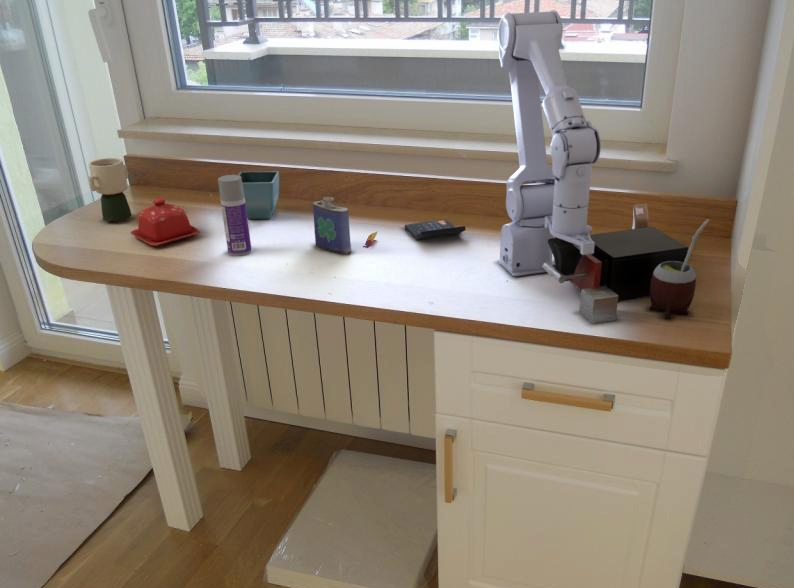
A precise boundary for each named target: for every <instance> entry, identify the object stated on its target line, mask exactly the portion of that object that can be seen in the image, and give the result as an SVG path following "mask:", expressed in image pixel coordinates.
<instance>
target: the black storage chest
mask: <svg viewBox="0 0 794 588" xmlns="http://www.w3.org/2000/svg"><path fill="white" fill-rule="evenodd" d="M589 235H590V237H591V239H592V241H593V242H595V246H594V248H596V249H597V250H599V251H600V252H601V253H603V254H604V255H606V256H607V257H608V258H610V259H611V260H612V262H611V271H610V281H609V289H611V290H612V291H613V292H615V293H616V294H617V295H618V302H622V301H623V302H624V301H629V300H636V299H641V298H642V299H643V298H647V297H649V298H650V283H651V278H652V275H653V273H654V270H655V269H656V267H657V266H658V265H659V264H661V263H663V262H667V261H678V262H683V263H684V261H685V258H686V256H687V253H688V251H689V246H687V245H685V244H684V243H683V242H680V241H679V240H677V239H676V238H674V237H672V236H670V235H668V234H667V233H665V232H663V231H662V230H660V229H658V228H657V227H655V226H649V227H646V228H638V229H632V228H631V229H624V230H623V229H622V230H616V231H609V232H602V233H593V234H589Z"/></svg>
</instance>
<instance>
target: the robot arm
mask: <svg viewBox="0 0 794 588" xmlns="http://www.w3.org/2000/svg"><path fill="white" fill-rule="evenodd" d="M497 28H498V30H497V34H496V35H497V36H496V38H497V46H498V55H499V57H498V58H499V62H500V67H501V68H502V69H503V70H505V71H506V72H508V74H509V82H510V83H509V84H510V90H511V101H512V108H513V117H514V127H515V134H516V136H515V138H516V145H517V153H518V162H519V163H518V164H519V167H518V169H517V170H516V171H515V172H514V173H513V174H512V175H511V176H510V177H509V178H508V179H507V181H506V184H505V185H506V186H505V187H506V197H505V207H506V212H507V215H508V217H509V218H510V220H511V222H509V223H505V224H503V225H502V227H501V230H500V245H499V246H500V247H499V259H498V261H497V262H498V263H499V264H500V265H501V266H502V267H503V268H504V269H505V270H506V271H507V272H508V273H509V274H510V275H512V276H513V277H522V276H528V275H536V274H541V273H542V274H543V273H547V272H546V271H545V270H544V269H543V267H542V266H543V264H544V263H545V262H548V263H550V264H555V266H556V269H557V270H558V271H559V272H561V273H562V274H563V275H564V276H566V275H572V274H574V273H575V270H576V267H577V265H578V262H579V260H580V258H581V257H582V255H587V254H593V253H594V246H595V242H593V241H592V239H591V237H590V235H591V234H590V233H592V232H593V227H592V226H591V225H590V224H588V214H589V203H590V193H591V192H590V191H591V182H592V180H591V179H592V171H593V170H592V169H593V164H595V163H597V162H598V160H599V158H600V155H601V149H602V143H601V136H600V132H599V130H598V128H597V127H595V126H594V125H593V124H592V122H591V121H589V120H587V119H586V117H585V114H584V110H583V108H582V104H581V101H580V98H579V96H578V92H577V91H576V89H574V88H572V87H570V86H568V83H567V80H566V76H565V71H564V67H563V66H564V65H563V62H562V58H561V52H560V48H561V45H562V40H563V33H564V29H563V28H564V26H563V20H562V18H561V15H560V13H559V12H558V11H557V10H555V9H552V10H548V11H533V12H515V13H511V12H504V13H503V15H502V16H501V18H500V20H499V23H498V27H497ZM540 84H541V87H542V89H543V91H544V93H545V96H544V98H543V100H542V99H541V90H540ZM541 100H542V101H541ZM542 108H543V109H542ZM542 110H543V111H542ZM543 112H544V116H545V118H546V121H547V124H548V127H549V131H550V134H551V137H552V138H551V143H550V147H549V149H550V151H549V152H550V159H551V163H552V165H549V164H548V158H547V149H546V137H545V130H544V122H543V121H544V118H543ZM522 185H523V186H522ZM571 280H572V279H569V280H566V281H565V282H571Z"/></svg>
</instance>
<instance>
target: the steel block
mask: <svg viewBox="0 0 794 588" xmlns="http://www.w3.org/2000/svg"><path fill="white" fill-rule="evenodd" d="M618 304H619V301H618V295H617V294H616V293H615V292H613V291H612V290H611V289H609V288H608V287H607V286H598V287H592V288H585V289H581V290H580V301H579V310H578V311H579V314H580V316H582V317H583V318H585V320H587V322H589V323H590V324H591V325H593V324H594V325H595V324H599V323H605V322H607V323H608V322H611V321H616V319H617V314H618V313H617V311H618Z"/></svg>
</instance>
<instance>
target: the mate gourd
mask: <svg viewBox="0 0 794 588" xmlns="http://www.w3.org/2000/svg"><path fill="white" fill-rule="evenodd" d="M710 221H711V219H709V218H707V219H705V221H704V222H703V223H702V224H701V225H700V226H699V227H698V229H697V230H696V232H695V234H693V236H692V238H691V243H690V246H689V247H688V253H687V256H686V258H685V261H684V263H683V262H678V261H667V262H663V263H661V264H659V265H658V266H657V267H656V269H655V270H654V273H653V275H652V278H651V283H650V296H649V299H650V306H649V311H652V312H660V313H664V320H670V319H671V315H672V314H673V315H674V314H675V315H683V316H688V315H689V313H690V310H689V308H690V306H691V304H692V302H693V300H694V296H695V290H696V286H697V285H696V284H697V275H696V272H695V270H694V268H693V267H692V266H691V265H690V264H688V263H689V260H690V258H691V255H692V252H693V249H694V247H695V244H696V243H697V242H698V239H699V237H700V236H699V235H700V234H701V232H702V231H703V230H704V228H705V227H706V226H707V225H708V224H709V222H710Z"/></svg>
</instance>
